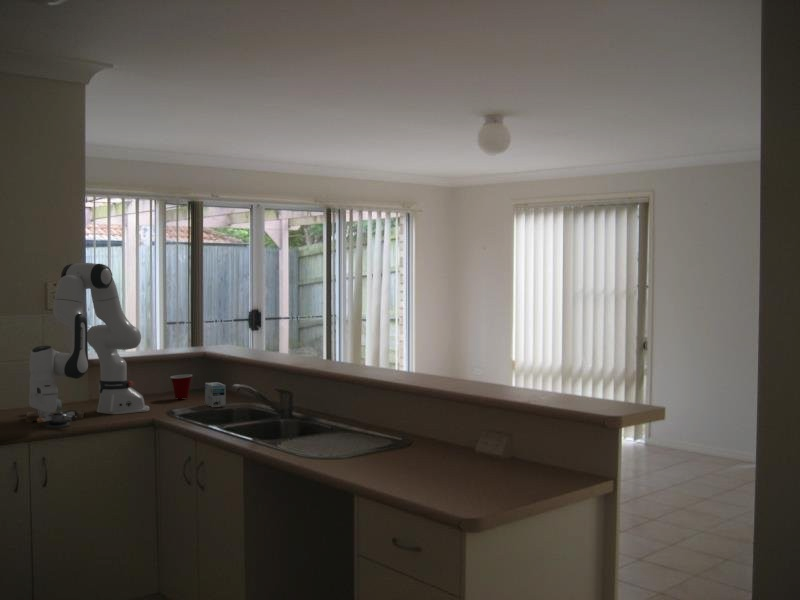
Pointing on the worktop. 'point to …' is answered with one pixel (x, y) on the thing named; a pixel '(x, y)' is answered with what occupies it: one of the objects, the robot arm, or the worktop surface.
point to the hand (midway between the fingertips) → (42, 421)
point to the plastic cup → (181, 385)
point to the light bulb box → (215, 394)
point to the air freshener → (58, 403)
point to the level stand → (34, 415)
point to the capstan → (58, 418)
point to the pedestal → (58, 425)
